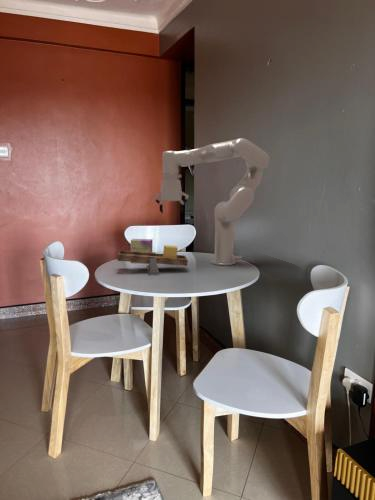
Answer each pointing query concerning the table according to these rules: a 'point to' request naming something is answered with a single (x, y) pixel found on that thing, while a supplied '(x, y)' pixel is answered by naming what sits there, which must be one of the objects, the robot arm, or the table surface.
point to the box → (141, 246)
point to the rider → (170, 252)
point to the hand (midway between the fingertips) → (171, 212)
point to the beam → (145, 257)
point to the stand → (152, 266)
